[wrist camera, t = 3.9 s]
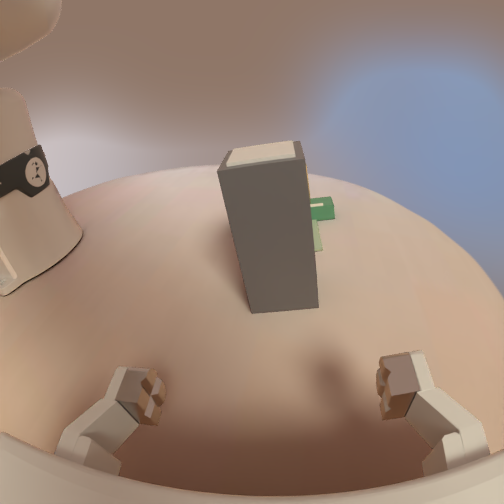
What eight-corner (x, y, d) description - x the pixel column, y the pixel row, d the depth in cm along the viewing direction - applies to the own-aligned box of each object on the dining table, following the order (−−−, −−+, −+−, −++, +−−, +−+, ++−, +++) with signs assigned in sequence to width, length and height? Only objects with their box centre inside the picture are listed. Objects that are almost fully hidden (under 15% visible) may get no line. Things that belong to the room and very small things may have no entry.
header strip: (234, 230, 31) (222, 179, 29) (236, 220, 33) (225, 172, 30) (334, 218, 30) (330, 165, 27) (331, 209, 32) (327, 158, 29)
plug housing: (251, 313, 21) (216, 167, 16) (255, 277, 24) (227, 148, 19) (318, 307, 20) (304, 155, 15) (314, 271, 24) (299, 137, 18)
